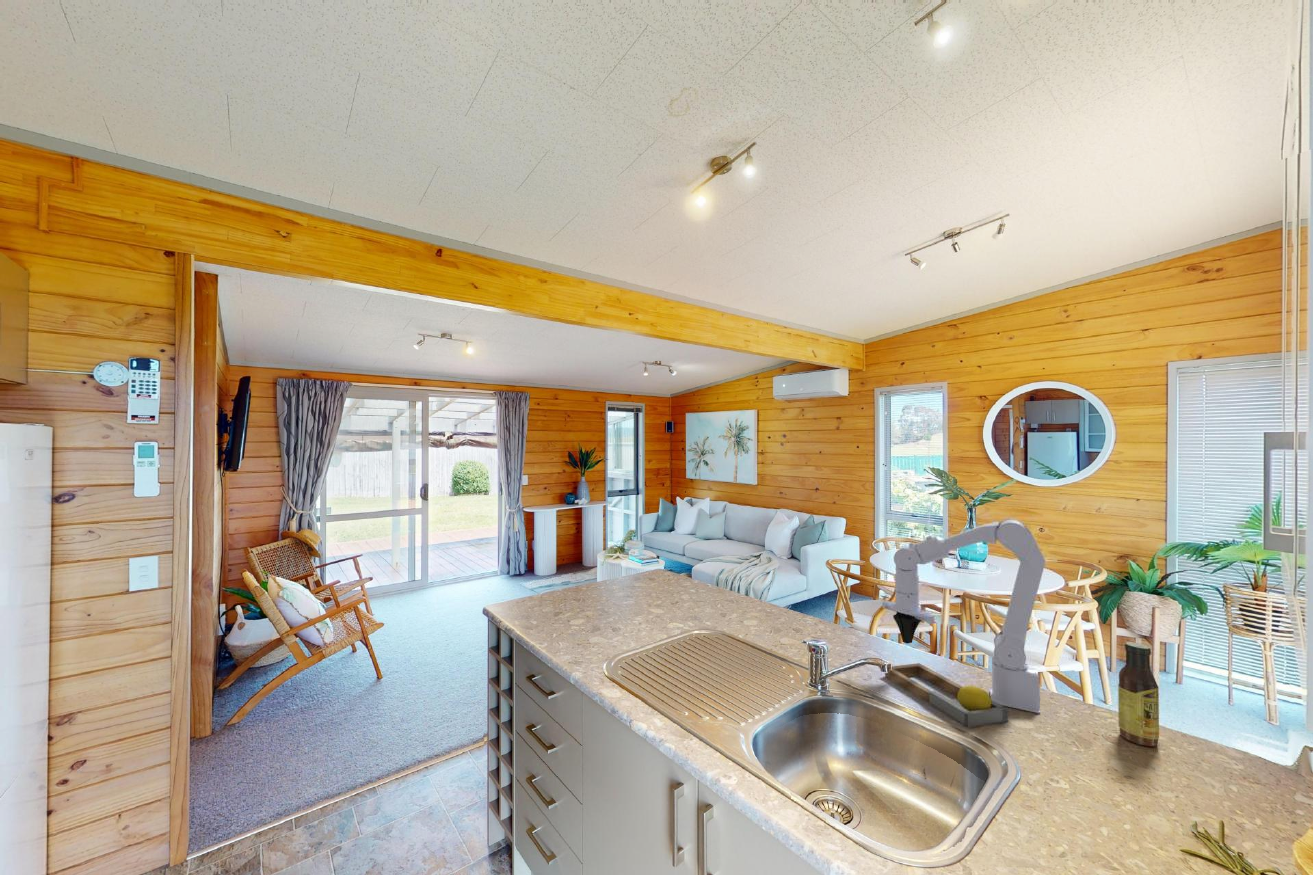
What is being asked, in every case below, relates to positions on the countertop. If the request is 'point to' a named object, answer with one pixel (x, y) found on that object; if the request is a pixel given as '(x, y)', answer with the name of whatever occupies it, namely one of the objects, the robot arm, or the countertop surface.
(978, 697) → the lemon
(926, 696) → the slot rails
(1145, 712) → the sauce bottle
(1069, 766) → the countertop surface
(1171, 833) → the countertop surface
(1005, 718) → the tray
